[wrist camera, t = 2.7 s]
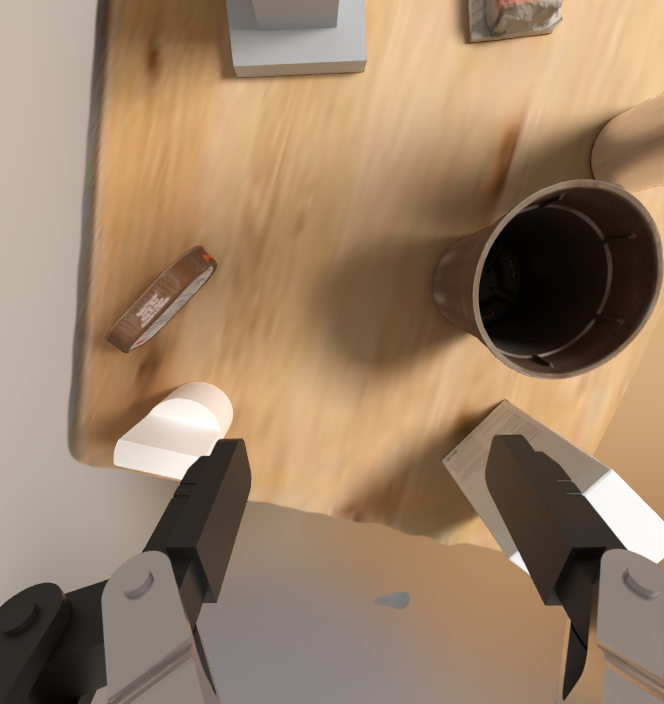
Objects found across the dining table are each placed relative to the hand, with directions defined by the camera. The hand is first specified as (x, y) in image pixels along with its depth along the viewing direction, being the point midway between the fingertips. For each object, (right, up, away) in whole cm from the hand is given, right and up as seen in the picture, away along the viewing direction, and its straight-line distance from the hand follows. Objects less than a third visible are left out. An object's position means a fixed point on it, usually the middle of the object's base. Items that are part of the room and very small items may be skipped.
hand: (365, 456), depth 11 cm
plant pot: (+18, +13, +32) cm, 39 cm away
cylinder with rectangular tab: (-19, -5, +34) cm, 40 cm away
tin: (-20, +10, +31) cm, 38 cm away
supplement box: (+24, -12, +39) cm, 47 cm away
